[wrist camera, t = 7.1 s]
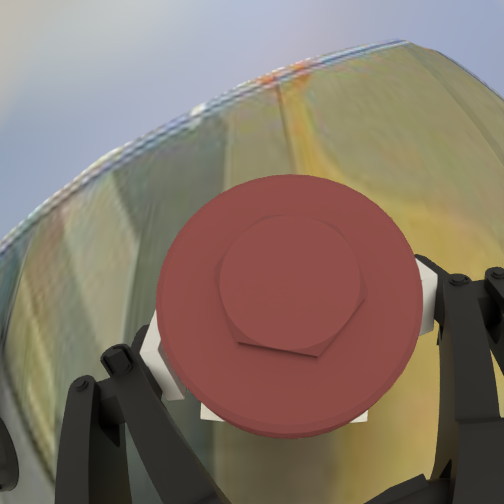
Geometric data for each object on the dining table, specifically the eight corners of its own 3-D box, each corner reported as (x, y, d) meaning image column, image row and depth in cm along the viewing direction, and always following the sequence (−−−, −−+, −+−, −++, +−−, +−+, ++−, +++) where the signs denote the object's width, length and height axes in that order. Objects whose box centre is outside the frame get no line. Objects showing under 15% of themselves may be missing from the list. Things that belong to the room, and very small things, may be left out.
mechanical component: (199, 394, 18) (233, 255, 22) (351, 423, 16) (373, 276, 20) (81, 406, 7) (176, 128, 11) (435, 480, 5) (449, 161, 9)
